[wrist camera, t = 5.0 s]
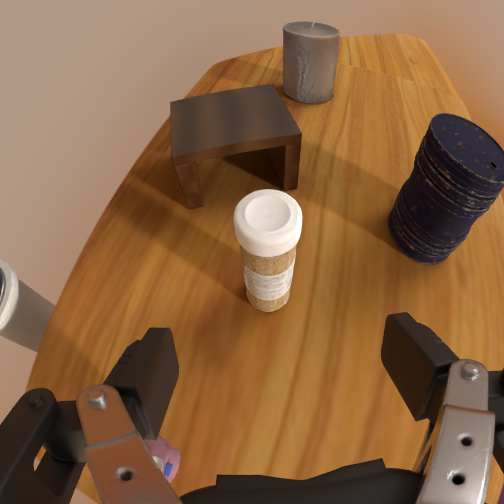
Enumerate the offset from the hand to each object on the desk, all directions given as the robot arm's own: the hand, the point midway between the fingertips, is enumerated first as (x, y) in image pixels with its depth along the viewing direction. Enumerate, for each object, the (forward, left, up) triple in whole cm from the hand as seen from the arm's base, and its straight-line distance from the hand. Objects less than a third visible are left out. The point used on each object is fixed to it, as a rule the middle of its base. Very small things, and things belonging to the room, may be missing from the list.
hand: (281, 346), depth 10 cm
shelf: (+2, +28, -18) cm, 34 cm away
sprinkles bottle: (+2, +9, -18) cm, 21 cm away
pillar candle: (+19, +46, -18) cm, 53 cm away
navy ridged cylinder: (+23, +12, -18) cm, 32 cm away
